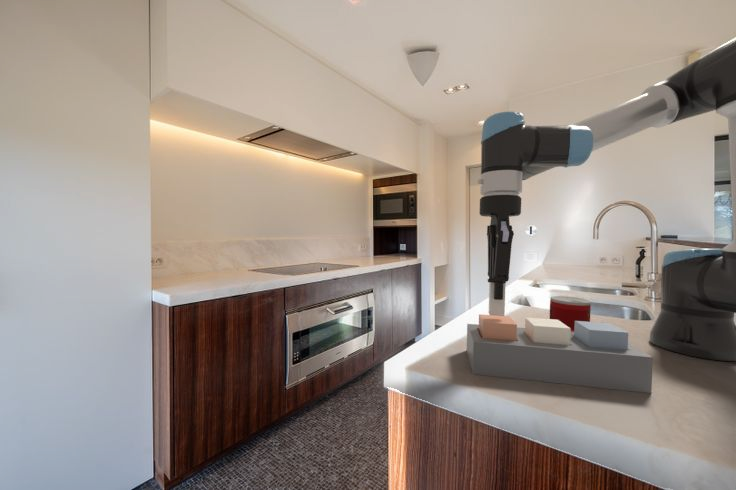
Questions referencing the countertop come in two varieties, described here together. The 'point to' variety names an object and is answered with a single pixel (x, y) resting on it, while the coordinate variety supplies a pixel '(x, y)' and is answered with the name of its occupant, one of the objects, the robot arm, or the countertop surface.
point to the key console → (559, 362)
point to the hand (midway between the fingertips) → (496, 314)
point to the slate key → (601, 335)
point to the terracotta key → (497, 327)
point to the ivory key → (547, 331)
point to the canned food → (569, 310)
